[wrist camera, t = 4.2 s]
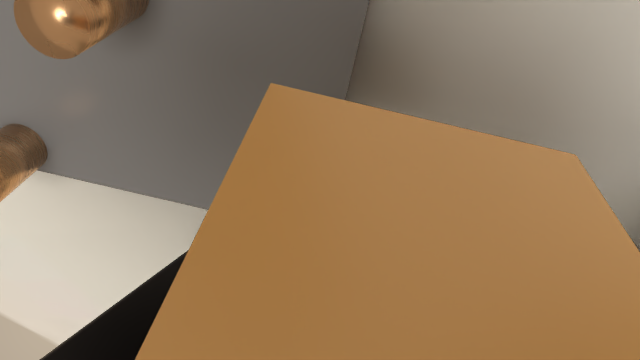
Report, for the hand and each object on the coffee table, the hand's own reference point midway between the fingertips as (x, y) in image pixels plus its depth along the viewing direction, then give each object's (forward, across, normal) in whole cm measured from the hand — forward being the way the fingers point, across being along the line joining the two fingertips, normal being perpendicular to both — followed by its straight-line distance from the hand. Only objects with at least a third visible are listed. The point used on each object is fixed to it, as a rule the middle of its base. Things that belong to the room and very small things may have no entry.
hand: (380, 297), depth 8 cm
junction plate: (+12, +8, +2) cm, 14 cm away
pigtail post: (+11, +9, 0) cm, 14 cm away
